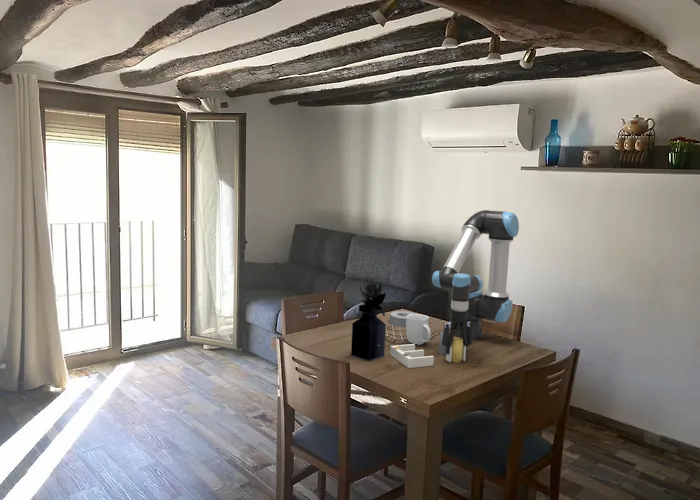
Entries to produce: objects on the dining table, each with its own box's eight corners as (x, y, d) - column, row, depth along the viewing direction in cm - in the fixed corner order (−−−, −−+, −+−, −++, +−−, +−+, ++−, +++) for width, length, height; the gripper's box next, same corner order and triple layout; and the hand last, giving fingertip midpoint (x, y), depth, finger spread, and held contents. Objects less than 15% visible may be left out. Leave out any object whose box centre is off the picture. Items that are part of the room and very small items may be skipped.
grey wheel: (423, 324, 299) (423, 315, 298) (406, 329, 288) (406, 319, 287) (401, 318, 309) (401, 309, 309) (383, 322, 298) (384, 313, 298)
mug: (438, 347, 259) (439, 320, 257) (420, 350, 253) (421, 323, 251) (417, 338, 271) (419, 312, 269) (400, 341, 265) (401, 315, 263)
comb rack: (413, 352, 250) (414, 342, 249) (433, 365, 233) (433, 355, 232) (389, 354, 245) (390, 344, 245) (408, 368, 229) (408, 357, 228)
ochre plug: (457, 358, 244) (459, 336, 242) (463, 362, 239) (465, 340, 238) (447, 359, 242) (449, 337, 240) (453, 363, 237) (455, 340, 236)
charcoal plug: (445, 351, 253) (447, 330, 252) (451, 354, 248) (453, 333, 247) (436, 352, 251) (437, 331, 250) (442, 355, 246) (443, 334, 245)
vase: (391, 357, 242) (395, 279, 237) (374, 362, 233) (378, 282, 229) (366, 349, 251) (370, 274, 247) (350, 354, 243) (353, 277, 238)
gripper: (473, 306, 244) (469, 355, 247) (435, 308, 237) (432, 359, 240) (483, 310, 237) (479, 361, 240) (444, 312, 230) (440, 365, 233)
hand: (455, 360), depth 240 cm, fingers open, 7 cm apart
